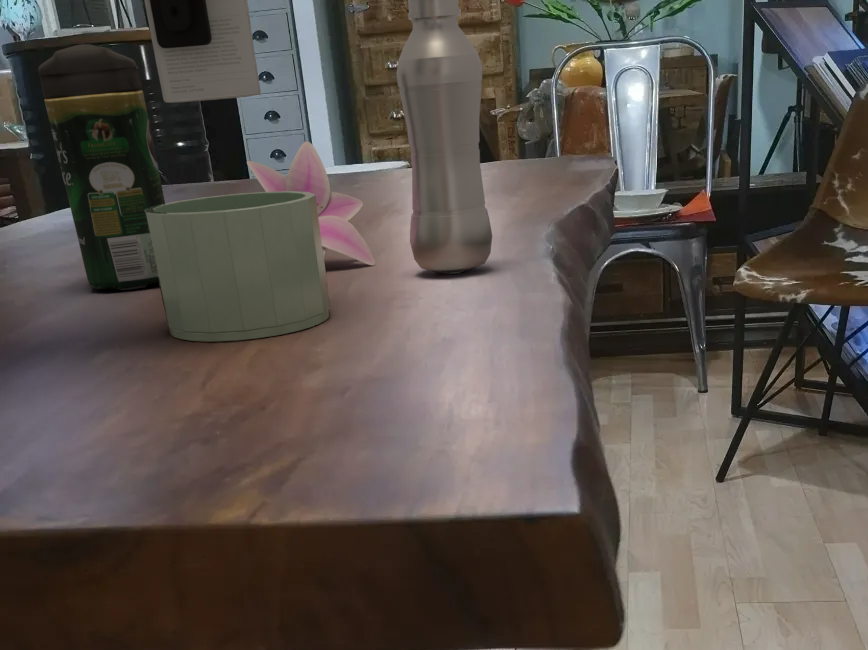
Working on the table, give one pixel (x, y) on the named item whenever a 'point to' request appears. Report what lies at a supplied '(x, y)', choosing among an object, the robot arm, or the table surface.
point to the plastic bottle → (444, 140)
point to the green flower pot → (240, 265)
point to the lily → (319, 201)
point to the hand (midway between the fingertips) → (204, 44)
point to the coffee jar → (105, 161)
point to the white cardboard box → (211, 58)
